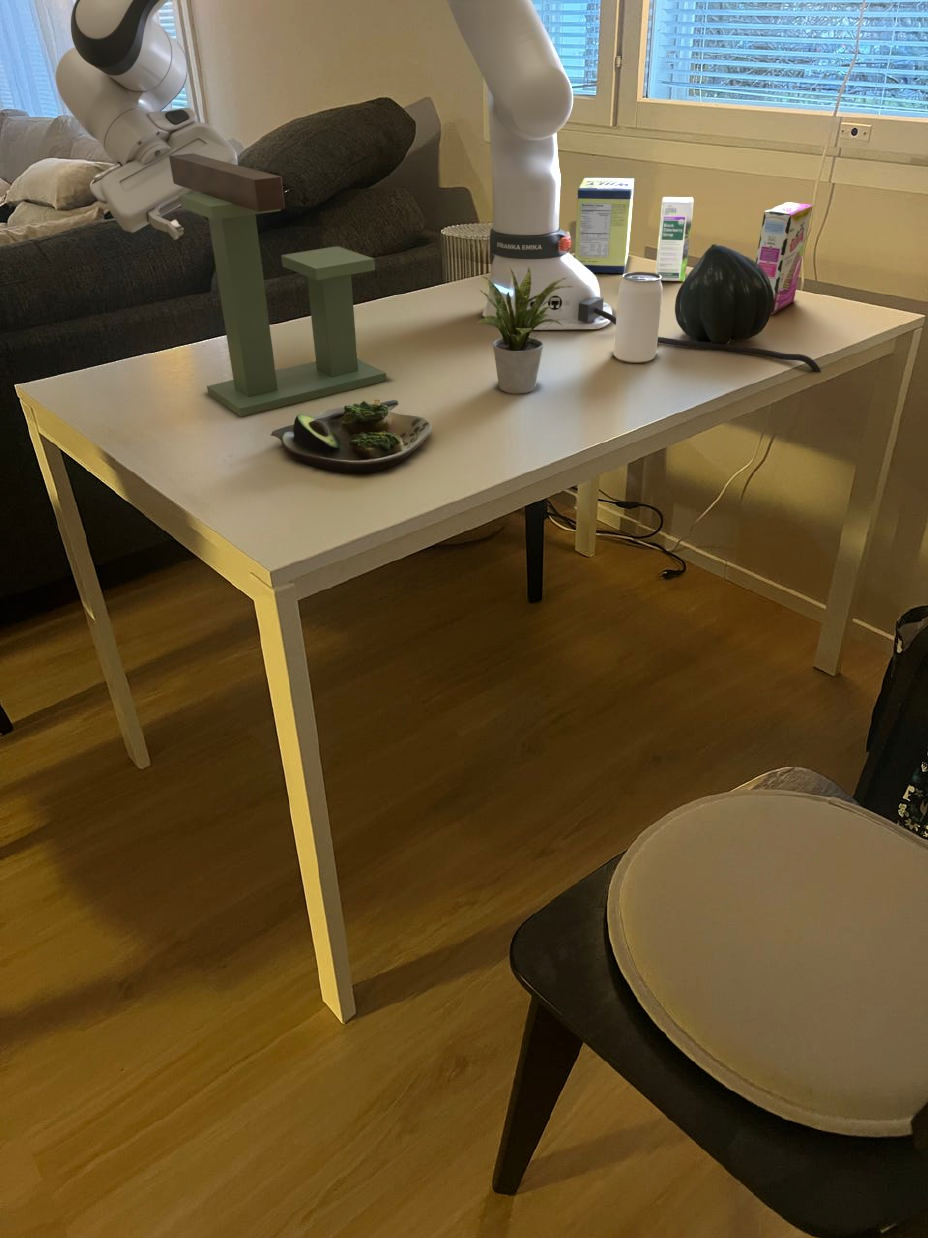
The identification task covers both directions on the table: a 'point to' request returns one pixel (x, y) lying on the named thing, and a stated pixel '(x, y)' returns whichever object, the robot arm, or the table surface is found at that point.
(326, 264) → the plant stand
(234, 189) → the walnut stick
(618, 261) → the protein box
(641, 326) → the can
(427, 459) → the table surface
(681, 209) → the syrup box
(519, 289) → the house plant
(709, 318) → the squash
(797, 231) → the candy bar box
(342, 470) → the salad plate
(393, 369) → the table surface
